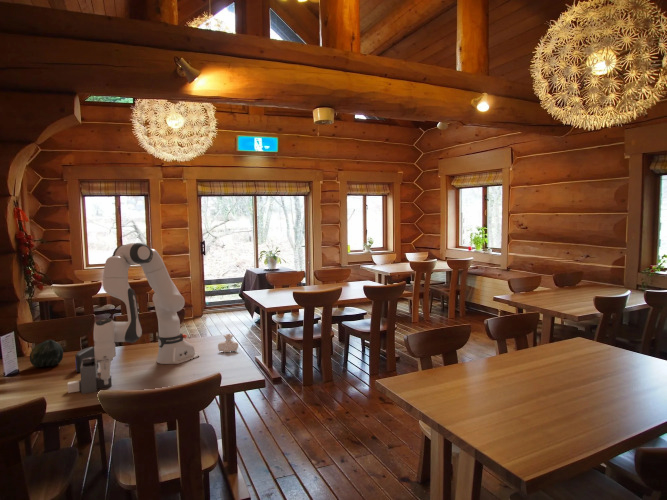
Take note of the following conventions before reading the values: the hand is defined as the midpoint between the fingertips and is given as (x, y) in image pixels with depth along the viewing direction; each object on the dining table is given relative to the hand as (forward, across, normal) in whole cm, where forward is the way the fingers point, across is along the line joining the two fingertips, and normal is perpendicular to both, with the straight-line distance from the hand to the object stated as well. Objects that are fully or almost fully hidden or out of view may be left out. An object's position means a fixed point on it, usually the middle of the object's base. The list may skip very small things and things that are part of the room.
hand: (106, 382), depth 202 cm
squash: (+2, +47, +29) cm, 56 cm away
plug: (+2, 0, +7) cm, 7 cm away
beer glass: (+2, +23, +2) cm, 23 cm away
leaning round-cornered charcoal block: (+2, +33, +10) cm, 34 cm away
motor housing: (+2, 0, +7) cm, 7 cm away
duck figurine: (+2, +26, -63) cm, 68 cm away
